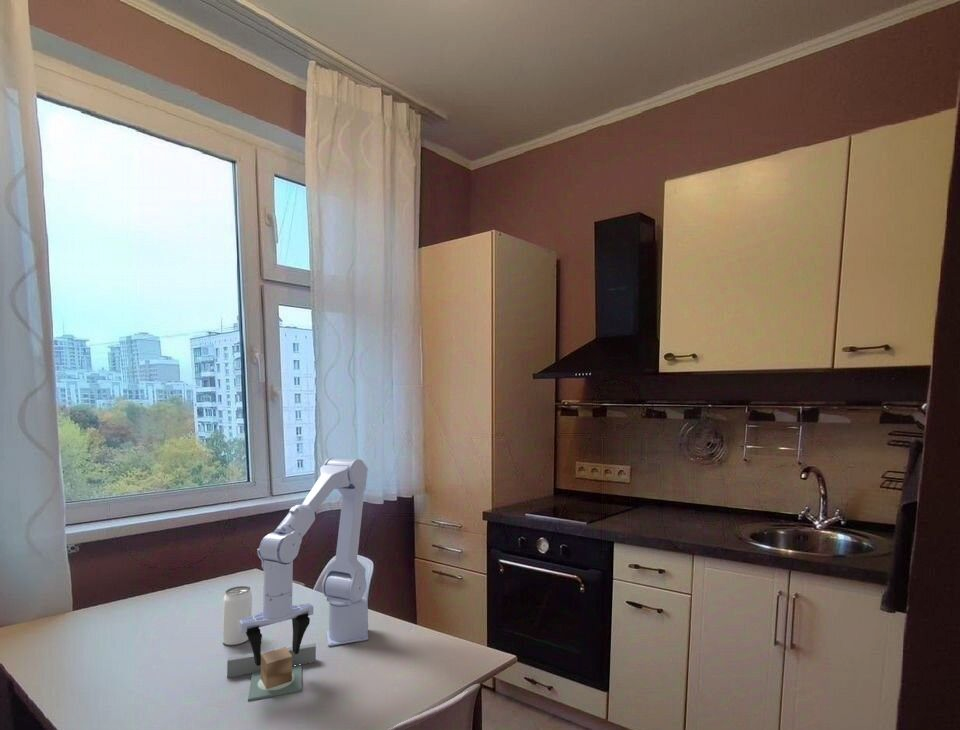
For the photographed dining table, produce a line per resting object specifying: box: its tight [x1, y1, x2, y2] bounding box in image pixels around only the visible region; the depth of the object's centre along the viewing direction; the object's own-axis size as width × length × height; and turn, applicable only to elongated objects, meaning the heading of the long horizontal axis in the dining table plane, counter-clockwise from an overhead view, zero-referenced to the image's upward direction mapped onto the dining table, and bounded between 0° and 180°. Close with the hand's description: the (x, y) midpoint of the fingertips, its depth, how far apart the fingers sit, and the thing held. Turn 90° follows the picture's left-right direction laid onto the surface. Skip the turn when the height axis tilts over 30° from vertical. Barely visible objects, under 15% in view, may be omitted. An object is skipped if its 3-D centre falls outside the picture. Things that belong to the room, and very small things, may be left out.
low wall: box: [226, 643, 317, 679], centre depth 112 cm, size 18×2×4 cm, turn 110°
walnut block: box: [261, 646, 292, 689], centre depth 106 cm, size 5×5×5 cm
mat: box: [247, 665, 303, 702], centre depth 106 cm, size 10×10×1 cm
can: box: [221, 585, 253, 646], centre depth 125 cm, size 6×6×12 cm
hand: (277, 657), depth 106 cm, fingers open, 7 cm apart
